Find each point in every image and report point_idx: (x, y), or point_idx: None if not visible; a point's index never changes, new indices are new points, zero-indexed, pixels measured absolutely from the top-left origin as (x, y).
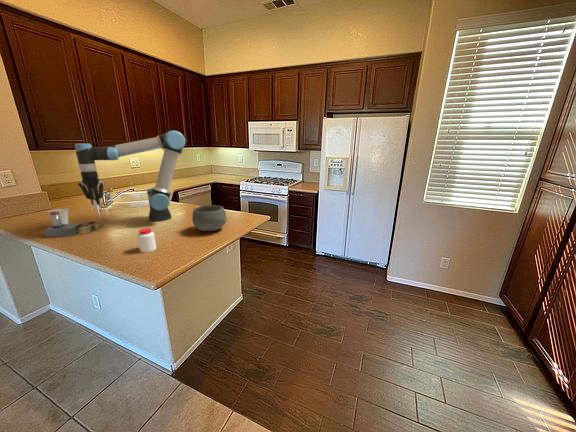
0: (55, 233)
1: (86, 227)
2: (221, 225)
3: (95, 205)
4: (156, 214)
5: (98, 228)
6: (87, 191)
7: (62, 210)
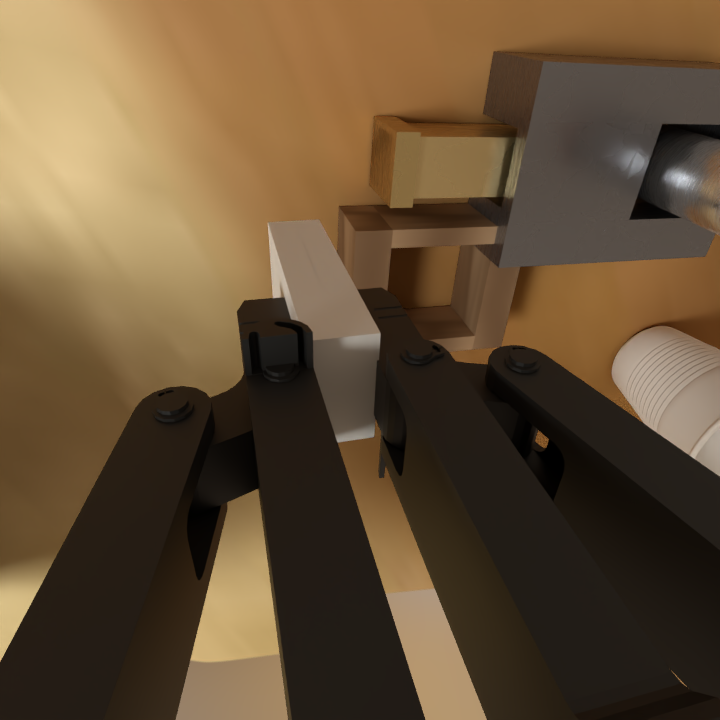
0: (667, 62)
1: (410, 131)
2: None
3: (305, 262)
4: None
5: (339, 251)
6: (624, 593)
7: None
